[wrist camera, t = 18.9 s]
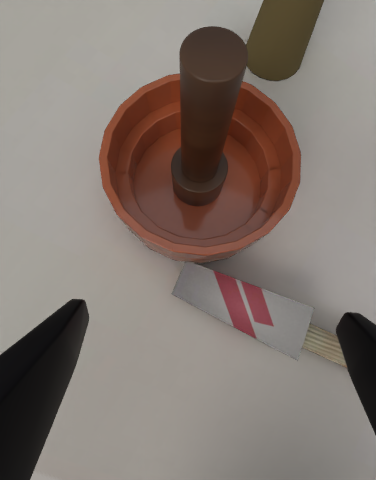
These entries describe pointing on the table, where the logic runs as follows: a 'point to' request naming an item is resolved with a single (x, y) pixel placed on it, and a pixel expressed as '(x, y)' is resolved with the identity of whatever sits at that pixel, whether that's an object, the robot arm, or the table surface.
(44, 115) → the table surface
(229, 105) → the pestle
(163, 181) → the bowl
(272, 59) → the olive game pawn
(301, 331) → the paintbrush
